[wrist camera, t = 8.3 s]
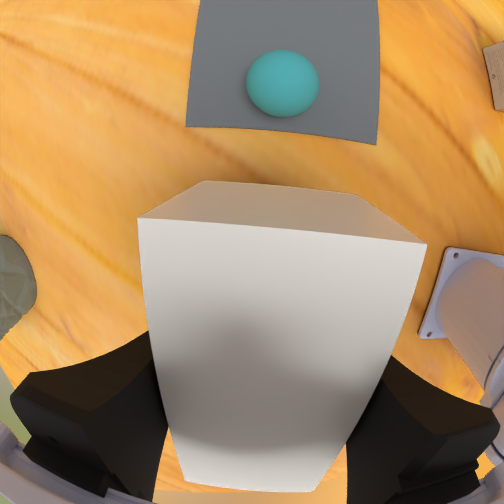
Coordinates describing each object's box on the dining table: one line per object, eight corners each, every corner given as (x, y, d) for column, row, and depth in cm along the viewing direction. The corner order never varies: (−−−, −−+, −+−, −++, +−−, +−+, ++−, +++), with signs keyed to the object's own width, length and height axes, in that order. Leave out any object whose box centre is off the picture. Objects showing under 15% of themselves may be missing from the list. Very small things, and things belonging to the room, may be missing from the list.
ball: (329, 57, 11) (319, 130, 14) (317, 51, 14) (310, 109, 16) (243, 50, 11) (241, 124, 14) (249, 45, 14) (247, 104, 17)
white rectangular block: (356, 194, 10) (427, 244, 5) (307, 406, 14) (312, 491, 9) (204, 180, 10) (137, 217, 5) (206, 397, 15) (185, 481, 9)
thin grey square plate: (375, -6, 12) (376, -7, 12) (375, 144, 16) (376, 144, 16) (205, -22, 13) (204, -23, 12) (186, 126, 17) (185, 126, 17)
